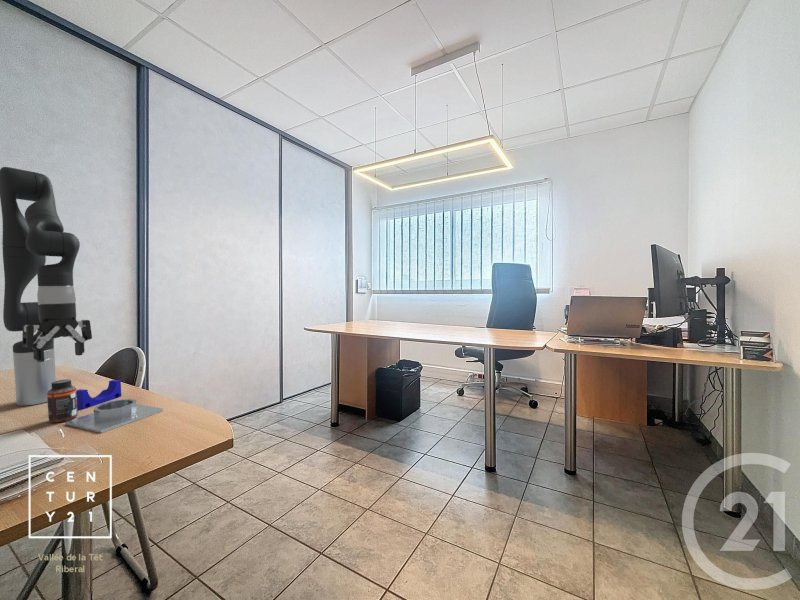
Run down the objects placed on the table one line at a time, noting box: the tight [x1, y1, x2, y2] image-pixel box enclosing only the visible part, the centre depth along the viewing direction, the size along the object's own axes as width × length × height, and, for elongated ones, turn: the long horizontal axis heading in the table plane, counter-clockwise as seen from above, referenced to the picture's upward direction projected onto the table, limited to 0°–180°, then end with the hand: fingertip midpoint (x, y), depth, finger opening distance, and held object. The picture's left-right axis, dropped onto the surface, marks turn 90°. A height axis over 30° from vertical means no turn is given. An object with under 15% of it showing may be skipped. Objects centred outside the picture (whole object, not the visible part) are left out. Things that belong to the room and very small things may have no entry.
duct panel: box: [64, 398, 164, 434], centre depth 98 cm, size 16×16×4 cm
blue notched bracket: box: [76, 379, 122, 410], centre depth 111 cm, size 12×4×6 cm, turn 170°
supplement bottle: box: [47, 378, 79, 424], centre depth 97 cm, size 6×6×11 cm
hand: (60, 358), depth 96 cm, fingers open, 8 cm apart
